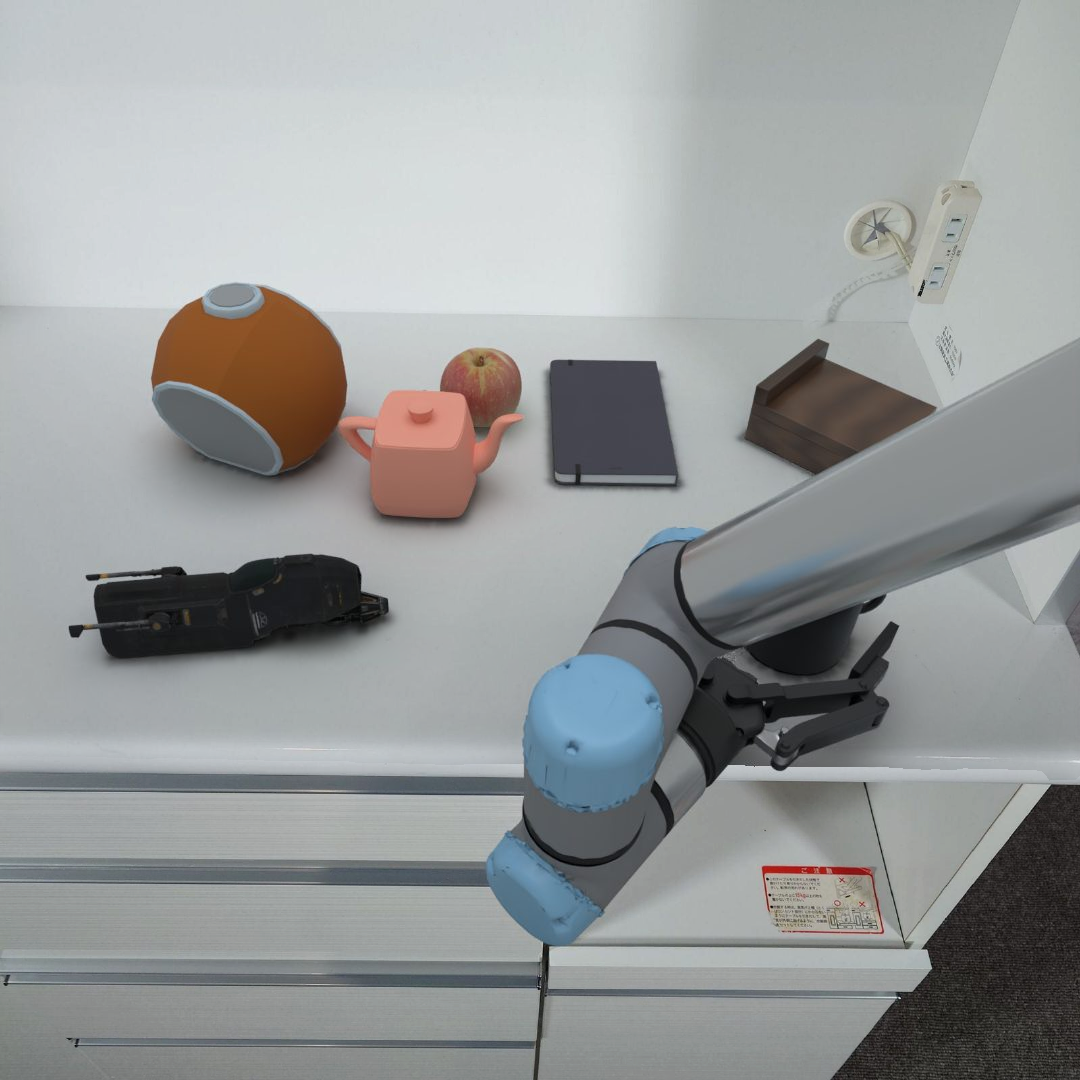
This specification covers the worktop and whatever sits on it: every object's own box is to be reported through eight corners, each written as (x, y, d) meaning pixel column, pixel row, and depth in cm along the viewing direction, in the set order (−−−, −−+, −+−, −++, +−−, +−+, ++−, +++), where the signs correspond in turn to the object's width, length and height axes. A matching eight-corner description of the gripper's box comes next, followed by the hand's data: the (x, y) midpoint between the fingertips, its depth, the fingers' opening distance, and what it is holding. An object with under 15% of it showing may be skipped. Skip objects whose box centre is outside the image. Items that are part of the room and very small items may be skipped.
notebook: (676, 486, 96) (654, 371, 111) (678, 474, 95) (656, 360, 110) (554, 485, 95) (549, 370, 111) (554, 473, 94) (549, 358, 110)
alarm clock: (383, 417, 103) (368, 274, 91) (296, 513, 91) (265, 363, 79) (239, 377, 108) (206, 236, 96) (139, 462, 96) (87, 314, 84)
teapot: (356, 449, 99) (345, 366, 91) (524, 457, 99) (526, 374, 91) (335, 521, 90) (321, 437, 83) (519, 530, 90) (520, 446, 83)
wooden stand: (922, 444, 102) (943, 391, 97) (867, 499, 95) (887, 446, 90) (804, 389, 109) (818, 338, 104) (744, 438, 102) (756, 385, 97)
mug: (888, 673, 79) (922, 601, 72) (750, 678, 78) (772, 606, 72) (853, 592, 85) (881, 520, 79) (726, 596, 85) (744, 524, 78)
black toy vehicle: (107, 611, 82) (75, 546, 76) (390, 588, 84) (378, 522, 78) (89, 672, 77) (53, 607, 72) (389, 646, 79) (377, 580, 74)
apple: (519, 443, 100) (519, 381, 95) (437, 439, 100) (433, 377, 95) (523, 397, 106) (524, 336, 101) (446, 393, 107) (443, 333, 101)
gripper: (534, 688, 74) (686, 552, 86) (809, 890, 62) (942, 701, 74) (536, 626, 69) (698, 491, 80) (837, 834, 57) (975, 641, 69)
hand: (815, 591), depth 77 cm, fingers open, 13 cm apart
